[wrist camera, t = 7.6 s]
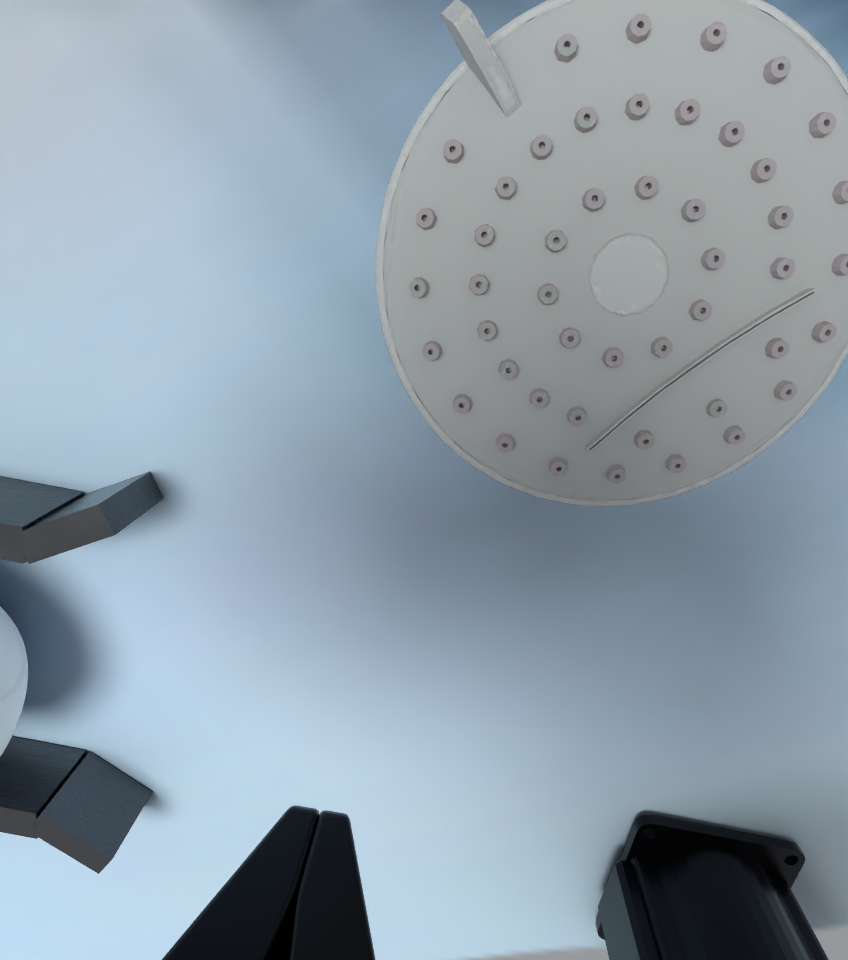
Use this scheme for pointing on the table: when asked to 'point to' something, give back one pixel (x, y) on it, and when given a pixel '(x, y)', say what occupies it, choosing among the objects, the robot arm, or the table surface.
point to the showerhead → (620, 244)
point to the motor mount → (48, 767)
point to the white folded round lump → (11, 678)
